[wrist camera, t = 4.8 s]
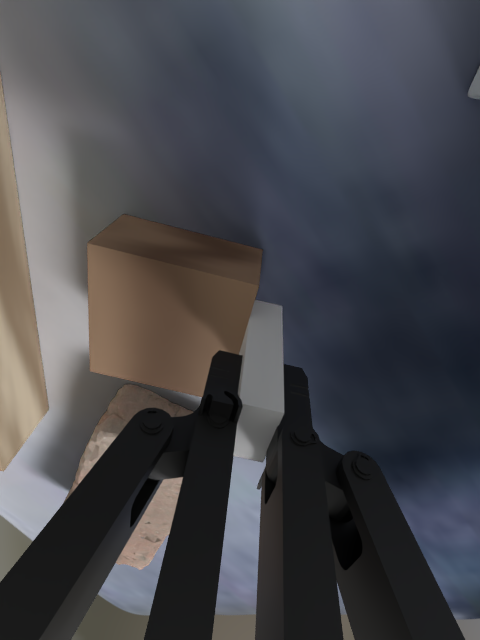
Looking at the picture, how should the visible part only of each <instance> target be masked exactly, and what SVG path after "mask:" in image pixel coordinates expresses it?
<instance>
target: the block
mask: <svg viewBox="0 0 480 640" xmlns="http://www.w3.org/2000/svg"><path fill="white" fill-rule="evenodd" d="M262 252H263V250H262V249H258V248H254V247H251V246H247V245H243V244H239V243H235V242H231V241H227V240H223V239H219V238H215V237H211V236H208V235H204V234H200V233H196V232H192V231H188V230H184V229H180V228H176V227H172V226H168V225H165V224H161V223H157V222H153V221H149V220H145V219H141V218H137V217H133V216H129V215H126V214H123V215H122V216H120V217H119V218H118V219H117V220H115V221H114V222H113V223H112V224H110V225H109V226H108V227H107V228H105V229H104V230H103V231H102V232H100V233H99V234H98V235H97V236H95V237H94V238H93V239H92V240H90V241H89V242H88V243H87V262H88V308H89V355H90V371H91V372H95V373H100V374H104V375H108V376H112V377H117V378H121V379H125V380H130V381H134V382H138V383H143V384H147V385H151V386H156V387H160V388H164V389H169V390H173V391H177V392H182V393H186V394H190V395H195V396H199V397H203V393H204V389H205V385H206V381H207V377H208V373H209V369H210V365H211V361H212V357H213V356H214V355H215V354H216V353H217V352H218V351H219V350H221V351H225V352H230V353H234V354H238V355H239V352H240V349H241V346H242V342H243V339H244V335H245V332H246V328H247V325H248V321H249V318H250V315H251V312H252V308H253V305H254V301H255V298H256V295H257V291H258V288H259V282H260V272H261V262H262Z"/></svg>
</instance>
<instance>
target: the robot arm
mask: <svg viewBox="0 0 480 640" xmlns="http://www.w3.org/2000/svg"><path fill="white" fill-rule="evenodd" d="M233 456H235V457H240V458H245V459H249V460H254V461H259V462H263V461H264V459H265V456H266V467H265V469H264V472H263V474H262V476H261V478H260V480H259V483H258V486H257V489H260V488H261V486H262V491H261V514H260V537H259V561H258V584H257V607H256V631H255V640H343V632H342V624H341V614H340V606H339V597H338V589H337V583H338V586H339V590H340V593H341V596H342V599H343V603H344V606H345V609H346V612H347V616H348V619H349V622H350V626H351V629H352V632H353V635H354V638H355V640H465V638H464V636H463V634H462V632H461V630H460V628H459V626H458V624H457V622H456V620H455V618H454V616H453V614H452V612H451V610H450V608H449V606H448V604H447V602H446V600H445V598H444V596H443V594H442V592H441V590H440V588H439V586H438V584H437V582H436V580H435V578H434V576H433V574H432V572H431V570H430V568H429V566H428V564H427V562H426V560H425V558H424V556H423V554H422V552H421V550H420V548H419V545H418V543H417V541H416V539H415V537H414V535H413V533H412V531H411V529H410V527H409V525H408V523H407V521H406V519H405V517H404V515H403V513H402V511H401V509H400V507H399V505H398V503H397V501H396V499H395V497H394V495H393V493H392V491H391V489H390V487H389V485H388V483H387V481H386V479H385V477H384V475H383V473H382V471H381V469H380V467H379V466H378V465H377V463H376V462H375V461H374V460H373V459H372V458H371V457H370V456H368V455H366V454H364V453H362V452H359V451H350V452H347V453H346V454H345V455H342V454H340V453H338V452H336V451H334V450H332V449H330V448H329V447H327V446H326V445H324V444H323V443H322V442H321V441H320V439H319V436H318V434H317V433H316V432H315V430H314V429H313V426H312V418H311V408H310V398H309V390H308V378H307V376H306V375H305V373H304V371H303V369H302V368H299V367H294V366H290V365H286V364H283V320H282V306H280V305H276V304H272V303H267V302H263V301H259V300H255V301H254V305H253V308H252V312H251V315H250V318H249V321H248V325H247V328H246V332H245V335H244V339H243V342H242V346H241V349H240V352H239V355H238V354H234V353H230V352H225V351H221V350H219V351H218V352H217V353H216V354H215V355H214V356H213V357H212V361H211V365H210V369H209V373H208V377H207V381H206V385H205V389H204V393H203V397H202V400H201V404H200V406H199V408H198V409H197V410H196V411H195V412H193V413H192V414H189V415H186V416H180V417H171V416H170V414H169V413H167V412H166V411H164V410H163V409H159V408H146V409H143V410H141V411H139V412H138V413H136V414H135V415H134V416H133V417H132V418H131V420H130V421H129V422H128V423H127V425H126V426H125V427H124V428H123V430H122V431H121V432H120V433H119V435H118V436H117V437H116V438H115V440H114V441H113V442H112V443H111V445H110V446H109V447H108V448H107V450H106V451H105V452H104V453H103V455H102V456H101V457H100V458H99V460H98V461H97V462H96V463H95V465H94V466H93V467H92V468H91V470H90V471H89V472H88V473H87V475H86V476H85V477H84V478H83V480H82V481H81V482H80V483H79V485H78V486H77V487H76V488H75V490H74V491H73V492H72V493H71V495H70V496H69V497H68V498H67V500H66V501H65V502H64V503H63V505H62V506H61V507H60V508H59V510H58V511H57V512H56V513H55V515H54V516H53V517H52V518H51V520H50V521H49V522H48V523H47V525H46V526H45V527H44V528H43V530H42V531H41V532H40V533H39V535H38V536H37V537H36V538H35V540H34V541H33V542H32V543H31V545H30V546H29V547H28V549H27V550H26V551H25V552H24V553H23V555H22V556H21V558H20V559H19V560H18V561H17V562H16V564H15V565H14V566H13V567H12V568H11V570H10V571H9V572H8V573H7V575H6V576H5V577H4V579H3V580H2V581H1V582H0V640H71V639H72V637H73V635H74V633H75V632H76V630H77V628H78V627H79V625H80V623H81V621H82V620H83V618H84V616H85V615H86V613H87V611H88V609H89V608H90V606H91V604H92V602H93V601H94V599H95V597H96V596H97V594H98V592H99V590H100V589H101V587H102V585H103V583H104V582H105V580H106V578H107V577H108V575H109V573H110V571H111V570H112V568H113V566H114V564H115V563H116V561H117V559H118V557H119V556H120V554H121V552H122V551H123V549H124V547H125V545H126V544H127V542H128V540H129V538H130V537H131V535H132V533H133V532H134V530H135V528H136V526H137V525H138V523H139V521H140V519H141V518H142V516H143V514H144V513H145V511H146V509H147V507H148V506H149V504H150V502H151V500H152V499H153V497H154V495H155V494H156V492H157V490H158V488H159V487H160V485H161V483H162V481H163V480H164V479H172V478H180V477H183V479H182V484H181V488H180V492H179V496H178V500H177V504H176V508H175V513H174V517H173V521H172V525H171V529H170V533H169V538H168V542H167V546H166V550H165V554H164V558H163V562H162V567H161V571H160V575H159V579H158V583H157V587H156V592H155V596H154V600H153V604H152V608H151V612H150V616H149V621H148V625H147V629H146V633H145V637H144V640H212V632H213V624H214V615H215V607H216V599H217V590H218V582H219V573H220V565H221V556H222V548H223V539H224V531H225V522H226V514H227V506H228V497H229V489H230V480H231V472H232V463H233Z"/></svg>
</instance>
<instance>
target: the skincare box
mask: <svg viewBox="0 0 480 640" xmlns="http://www.w3.org/2000/svg"><path fill="white" fill-rule="evenodd" d="M468 97H469V98H474V99H480V66H479V68H478V71H477V73H476V75H475V77H474V79H473V82H472V84H471V86H470V88H469V91H468Z"/></svg>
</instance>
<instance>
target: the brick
mask: <svg viewBox="0 0 480 640" xmlns="http://www.w3.org/2000/svg"><path fill="white" fill-rule="evenodd" d="M146 408H159V409H163V410H164V411H166V412H167V413H169V414H170V416H171V417H180V416H186V415H189V414H192V413H193V411H191V410H187V409H185V408H183V407H181V406H179V405H177V404H174V403H171V402H170V401H169V400H167V399H165V398H162V397H160V396H159V395H157V394H156V393H154V392H152V391H150V390H147V389H143V388H141V387H139V386H136V385H130V384H128V385H124V386H123V387H122V388H120V389H119V390H118V392H117V394H116V396H115V397H114V398H113V399H112V401H111V402H110V404H109V407H108V409H107V411H106V412H105V413H104V414H103V416H102V417H101V419H100V420H99V422H98V424H97V426H96V427H95V430H94V432H93V434H92V436H91V438H90V440H89V442H88V444H87V446H86V449H85V451H84V453H83V455H82V457H81V459H80V463H79V468H78V470H77V472H76V479H75V481H74V482H73V486H72V488H71V489H70V491H69V493H68V495H67V497H66V499H65V501H66V500H67V498H68V497H69V496H70V495H71V493H72V492H73V491H74V490H75V488H76V487H77V486H78V485H79V483H80V482H81V481H82V480H83V478H84V477H85V476H86V475H87V473H88V472H89V471H90V470H91V468H92V467H93V466H94V465H95V463H96V462H97V461H98V460H99V458H100V457H101V456H102V455H103V453H104V452H105V451H106V450H107V448H108V447H109V446H110V445H111V443H112V442H113V441H114V440H115V438H116V437H117V436H118V435H119V433H120V432H121V431H122V430H123V428H124V427H125V426H126V425H127V423H128V422H129V421H130V420H131V418H132V417H133V416H134V415H135V414H136V413H138V412H139V411H141V410H143V409H146ZM182 479H183V477H180V478H172V479H164V480H163V481H162V483H161V485H160V487H159V488H158V490H157V492H156V494H155V495H154V497H153V499H152V500H151V502H150V504H149V506H148V507H147V509H146V511H145V513H144V514H143V516H142V518H141V519H140V521H139V523H138V525H137V526H136V528H135V530H134V532H133V533H132V535H131V537H130V538H129V540H128V542H127V544H126V545H125V547H124V549H123V551H122V552H121V554H120V556H119V557H118V559H117V561H116V563H117V564H119V565H120V564H127V565H130V566H132V567H136V568H138V569H139V570H141V569H143V568H144V567H145V566H148V565H149V563H150V562H151V560H152V559H153V557H154V555H155V553H156V552H157V550H158V549H159V547H160V546H161V544H162V543H163V541H164V539H165V537H166V536H167V535H169V533H170V529H171V525H172V521H173V517H174V513H175V508H176V504H177V500H178V496H179V492H180V488H181V484H182ZM65 501H64V502H65Z"/></svg>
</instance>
